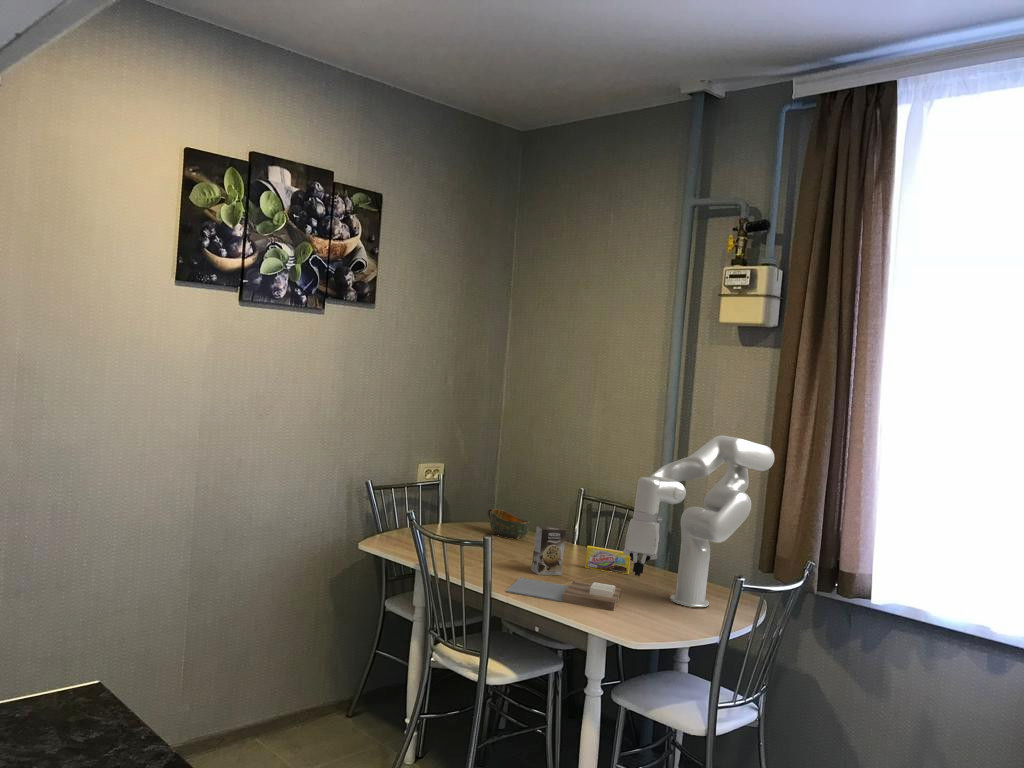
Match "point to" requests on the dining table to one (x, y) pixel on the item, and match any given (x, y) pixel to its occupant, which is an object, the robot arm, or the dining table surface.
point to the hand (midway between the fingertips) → (637, 574)
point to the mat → (538, 589)
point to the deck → (589, 596)
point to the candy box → (607, 560)
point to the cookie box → (548, 550)
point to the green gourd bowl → (507, 524)
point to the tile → (602, 589)
